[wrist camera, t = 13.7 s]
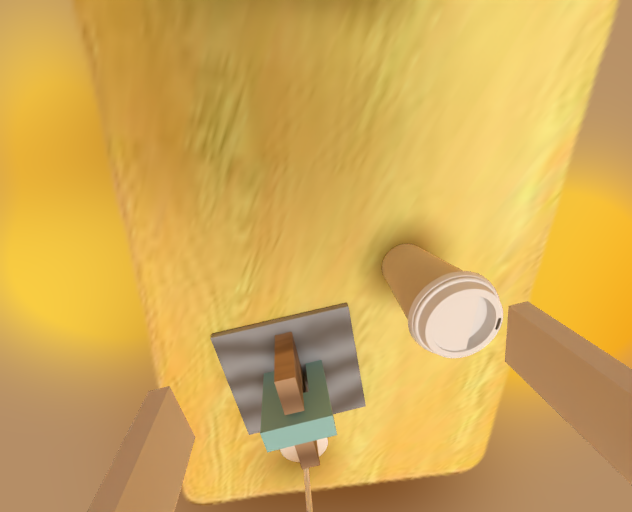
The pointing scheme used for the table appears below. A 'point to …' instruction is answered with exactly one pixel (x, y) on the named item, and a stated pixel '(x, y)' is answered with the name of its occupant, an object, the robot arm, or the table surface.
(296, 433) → the green arch block
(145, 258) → the table surface
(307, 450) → the joint base
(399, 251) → the coffee cup
